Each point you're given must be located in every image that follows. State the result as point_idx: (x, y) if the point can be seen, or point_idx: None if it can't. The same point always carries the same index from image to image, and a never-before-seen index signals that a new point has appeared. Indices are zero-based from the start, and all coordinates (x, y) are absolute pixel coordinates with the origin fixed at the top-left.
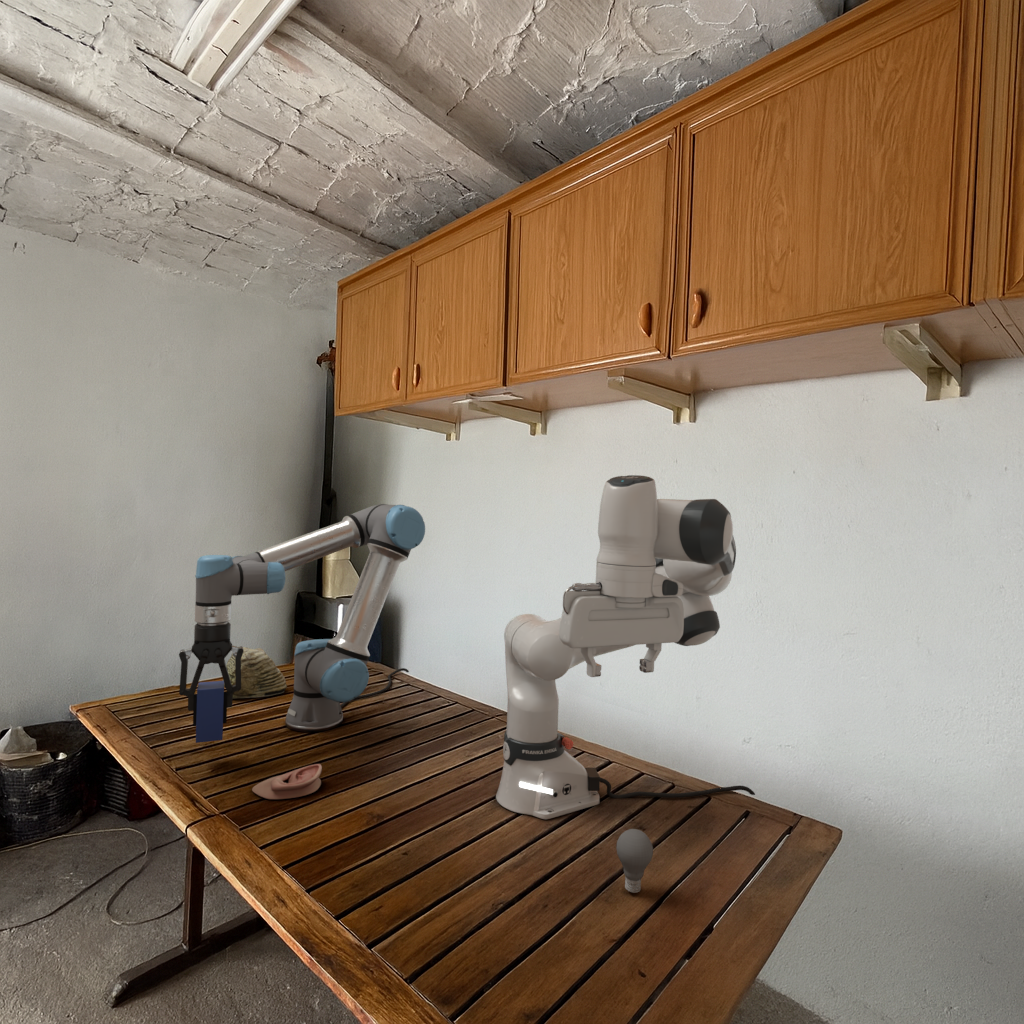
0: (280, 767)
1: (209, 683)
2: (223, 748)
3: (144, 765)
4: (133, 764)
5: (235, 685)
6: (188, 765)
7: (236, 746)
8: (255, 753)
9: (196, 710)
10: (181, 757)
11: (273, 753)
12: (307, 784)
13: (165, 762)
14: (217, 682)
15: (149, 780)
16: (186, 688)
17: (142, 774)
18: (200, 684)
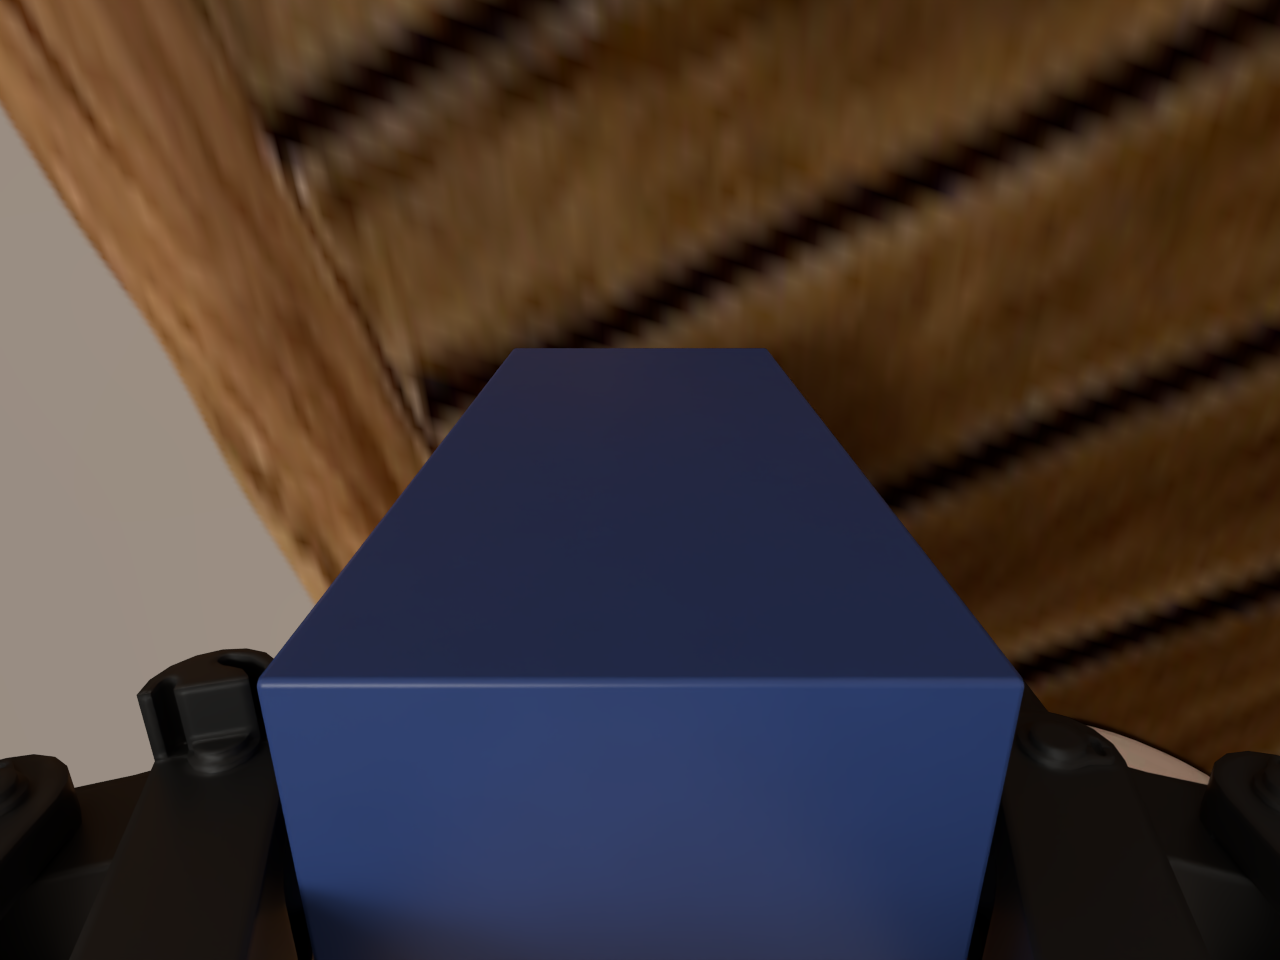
0: (1089, 568)
1: (590, 851)
2: (750, 49)
3: (175, 253)
4: (82, 205)
5: (1213, 953)
6: (499, 353)
7: (861, 31)
8: (986, 260)
9: None
10: (422, 164)
11: (1114, 304)
12: None
13: (318, 238)
14: (811, 814)
15: (291, 529)
16: (57, 884)
17: (216, 420)
18: (352, 878)
